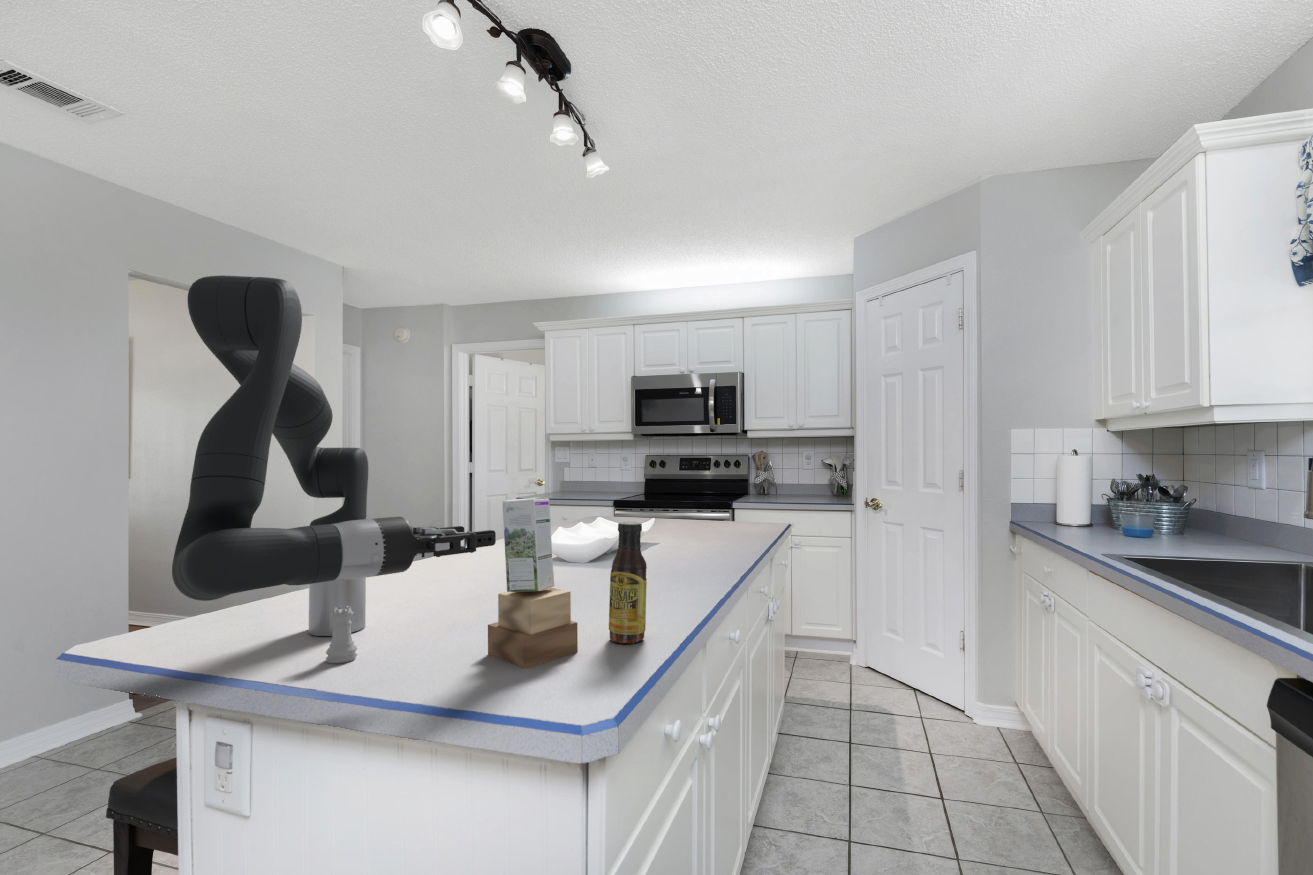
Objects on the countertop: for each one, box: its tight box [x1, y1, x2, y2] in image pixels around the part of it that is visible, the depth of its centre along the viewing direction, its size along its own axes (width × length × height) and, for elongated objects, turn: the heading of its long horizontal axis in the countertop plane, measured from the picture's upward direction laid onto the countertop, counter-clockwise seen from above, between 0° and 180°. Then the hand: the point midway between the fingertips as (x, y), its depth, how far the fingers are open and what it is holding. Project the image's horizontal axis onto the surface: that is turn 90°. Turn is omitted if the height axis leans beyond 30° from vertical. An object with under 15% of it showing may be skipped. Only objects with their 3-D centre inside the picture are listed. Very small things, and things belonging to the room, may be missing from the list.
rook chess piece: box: [325, 606, 358, 665], centre depth 95 cm, size 4×4×8 cm
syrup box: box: [502, 496, 555, 592], centre depth 98 cm, size 6×6×14 cm
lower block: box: [487, 620, 579, 670], centre depth 97 cm, size 10×10×5 cm
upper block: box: [497, 587, 572, 635], centre depth 97 cm, size 8×8×5 cm
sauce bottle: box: [608, 521, 648, 645], centre depth 104 cm, size 7×6×20 cm
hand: (478, 535), depth 92 cm, fingers open, 8 cm apart
